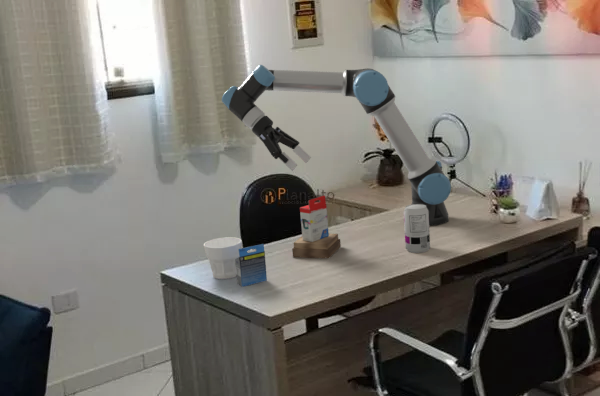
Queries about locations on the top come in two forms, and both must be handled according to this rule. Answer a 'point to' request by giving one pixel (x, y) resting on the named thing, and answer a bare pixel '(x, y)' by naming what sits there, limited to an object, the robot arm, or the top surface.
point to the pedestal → (316, 247)
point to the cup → (223, 256)
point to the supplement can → (416, 228)
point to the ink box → (314, 220)
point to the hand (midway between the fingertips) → (301, 164)
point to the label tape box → (251, 265)
